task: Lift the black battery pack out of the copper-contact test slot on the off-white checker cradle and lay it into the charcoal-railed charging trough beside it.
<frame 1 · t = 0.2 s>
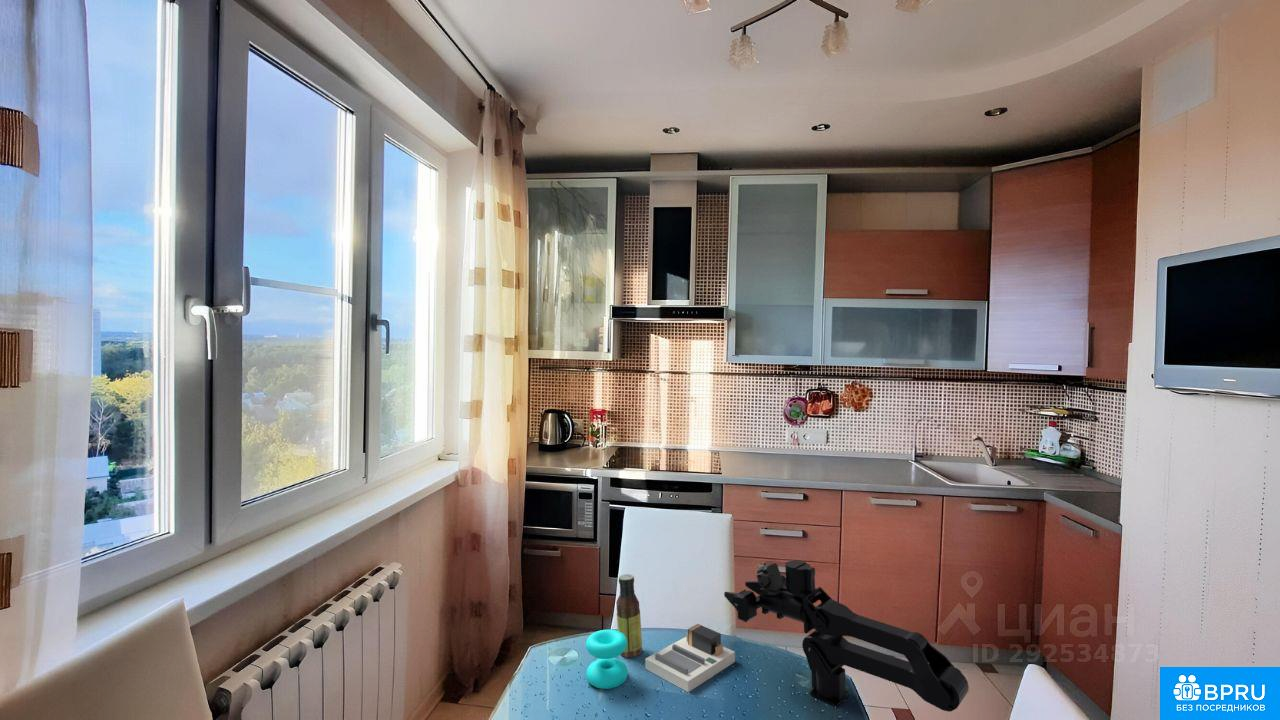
hand: (735, 588, 139), 17 cm above the table, tool horizontal, fingers open, 9 cm apart
sauce bottle: (629, 653, 141), on the table
battery: (704, 647, 138), point 3 cm above the table, touching cradle
cradle: (690, 665, 134), on the table
donuts: (607, 680, 129), on the table
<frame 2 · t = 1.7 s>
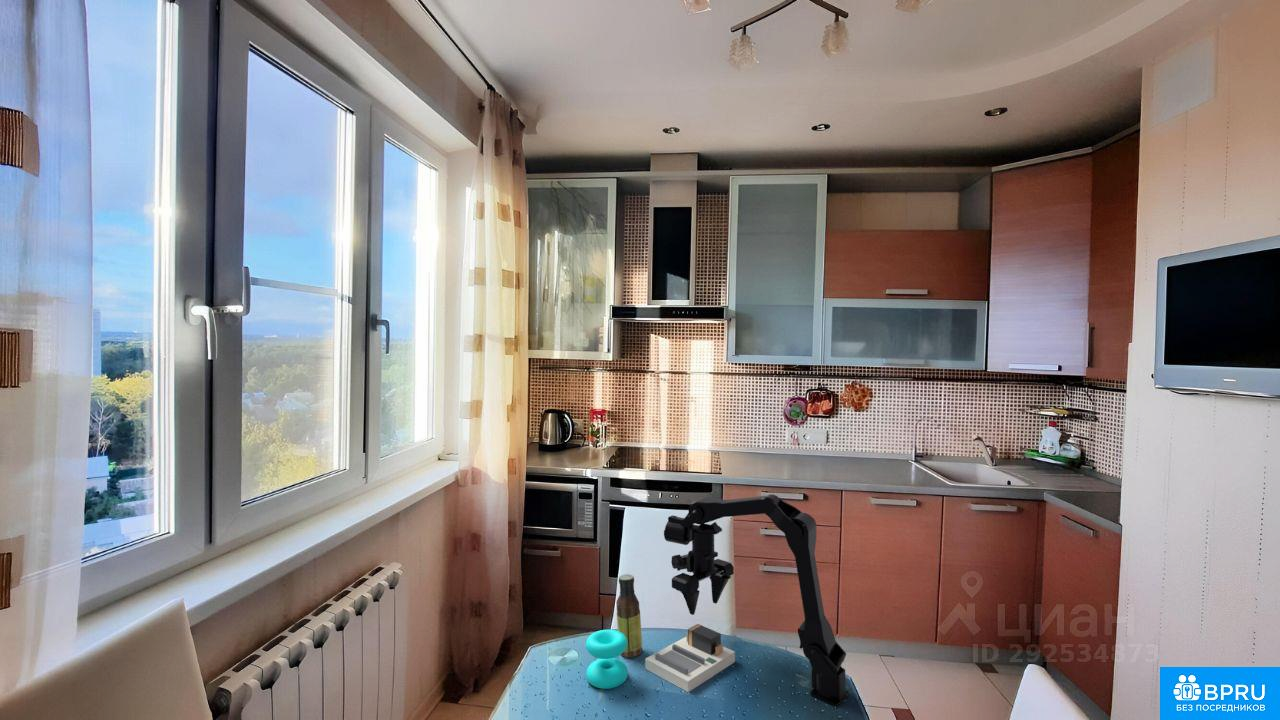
hand: (703, 608, 138), 12 cm above the table, tool pointing down, fingers open, 9 cm apart
nothing on the table moved.
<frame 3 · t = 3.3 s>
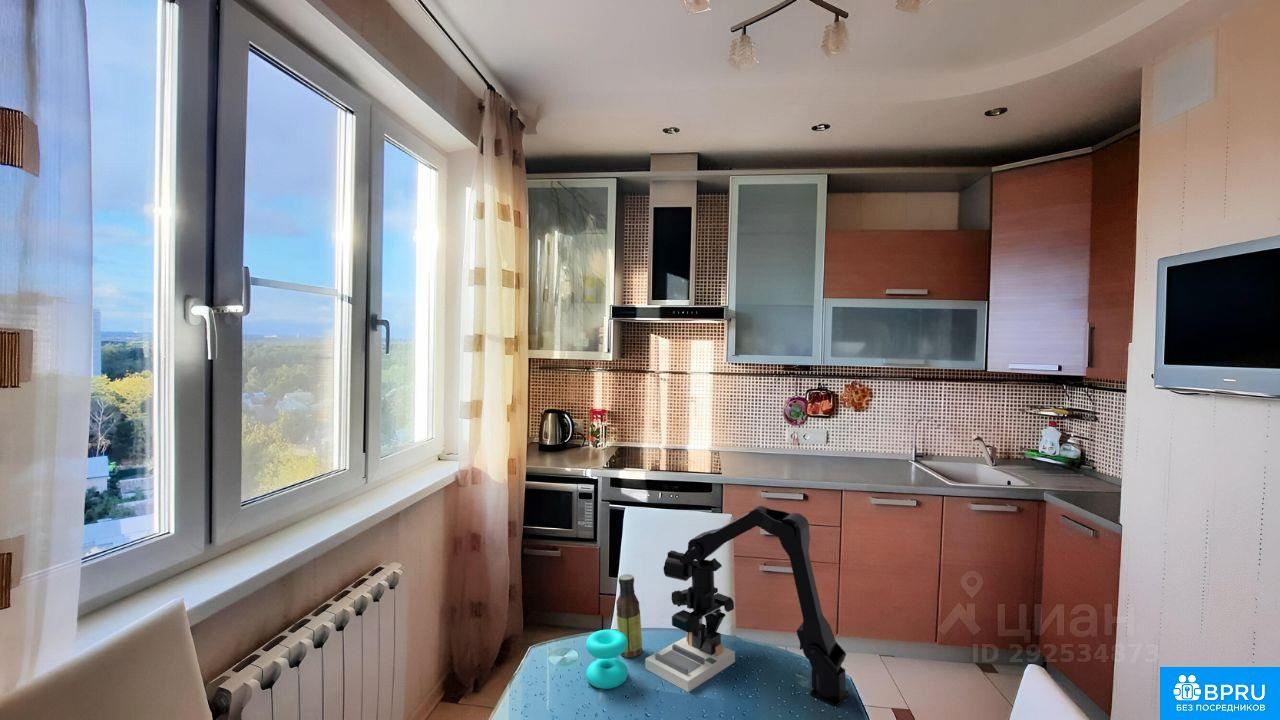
hand: (704, 645, 138), 3 cm above the table, tool pointing down, fingers closed on battery, 4 cm apart
battery: (704, 647, 138), point 3 cm above the table, touching cradle, gripper
everything else where it was.
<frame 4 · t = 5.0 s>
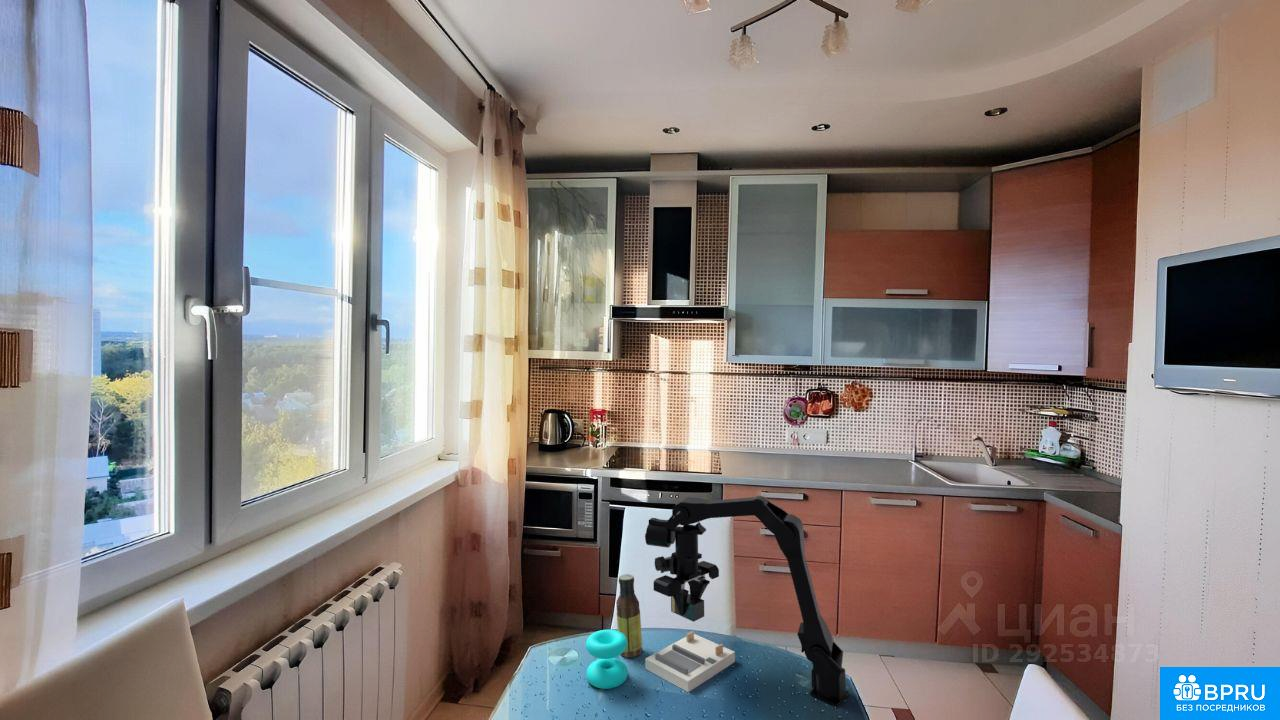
hand: (687, 612, 134), 13 cm above the table, tool pointing down, fingers closed on battery, 4 cm apart
battery: (687, 613, 134), point 13 cm above the table, touching gripper
everything else where it was.
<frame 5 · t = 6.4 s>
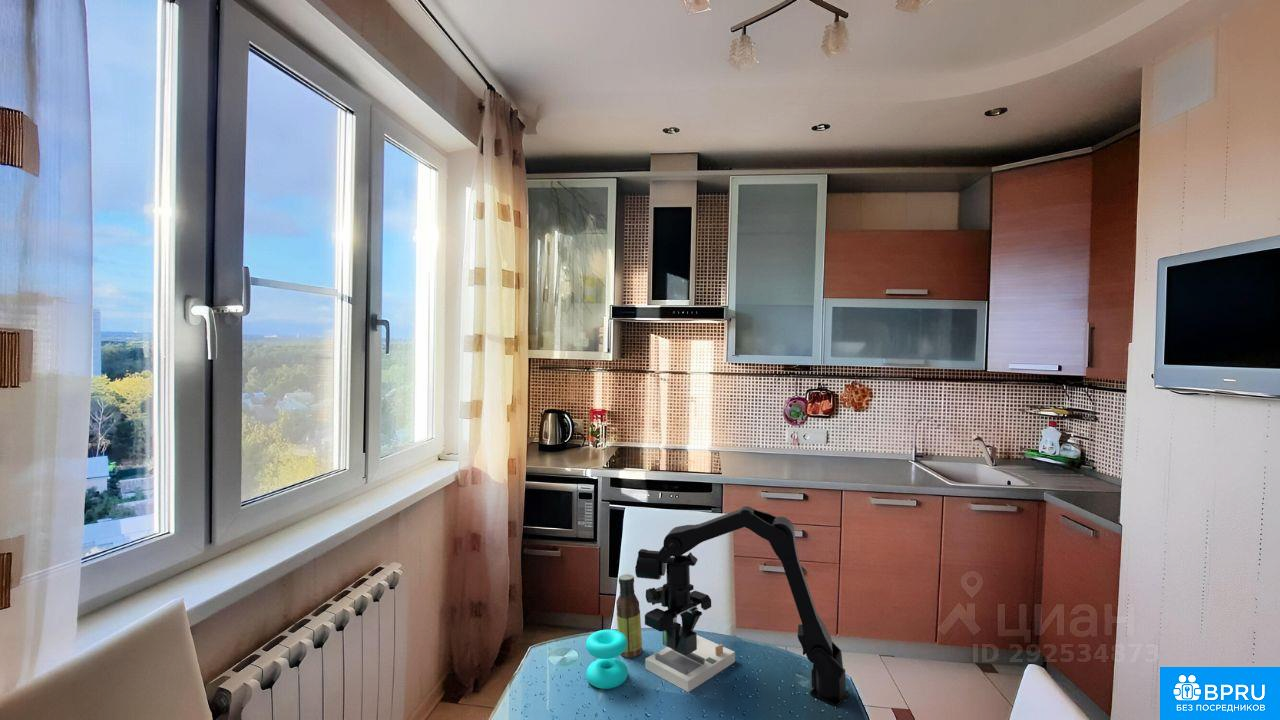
hand: (679, 644, 131), 6 cm above the table, tool pointing down, fingers closed on battery, 4 cm apart
battery: (679, 646, 131), point 6 cm above the table, touching gripper
everything else where it was.
when the fingers open (4 cm above the table, at t = 7.1 s): battery drops 1 cm, resting on cradle.
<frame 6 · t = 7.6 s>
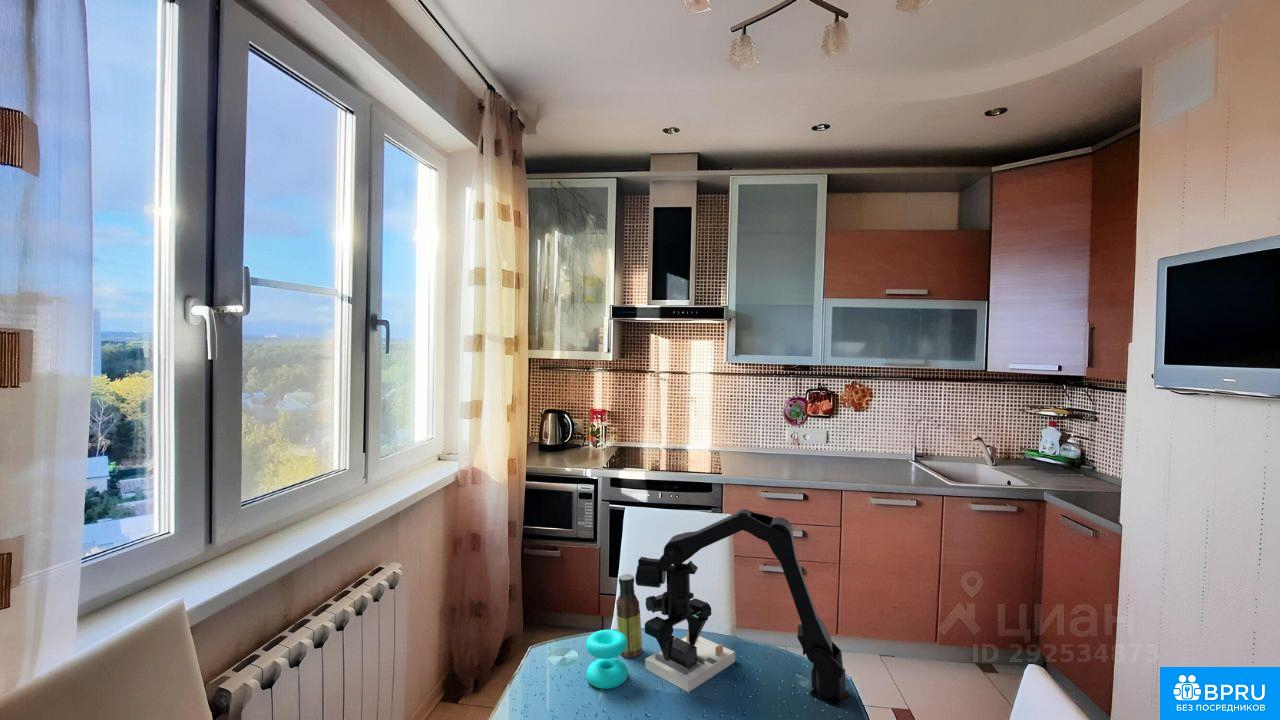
hand: (679, 653, 131), 4 cm above the table, tool pointing down, fingers open, 9 cm apart
battery: (679, 660, 131), point 3 cm above the table, touching cradle
everything else where it was.
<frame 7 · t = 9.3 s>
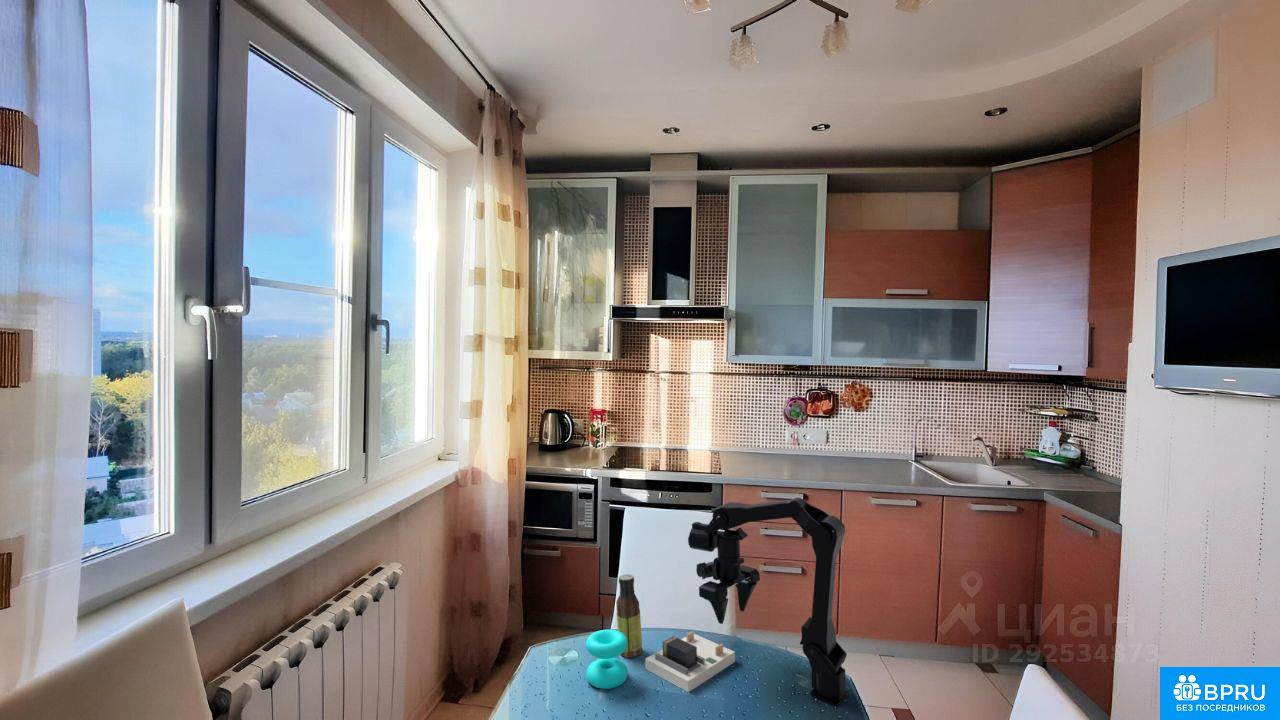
hand: (731, 617, 135), 12 cm above the table, tool pointing down, fingers open, 9 cm apart
nothing on the table moved.
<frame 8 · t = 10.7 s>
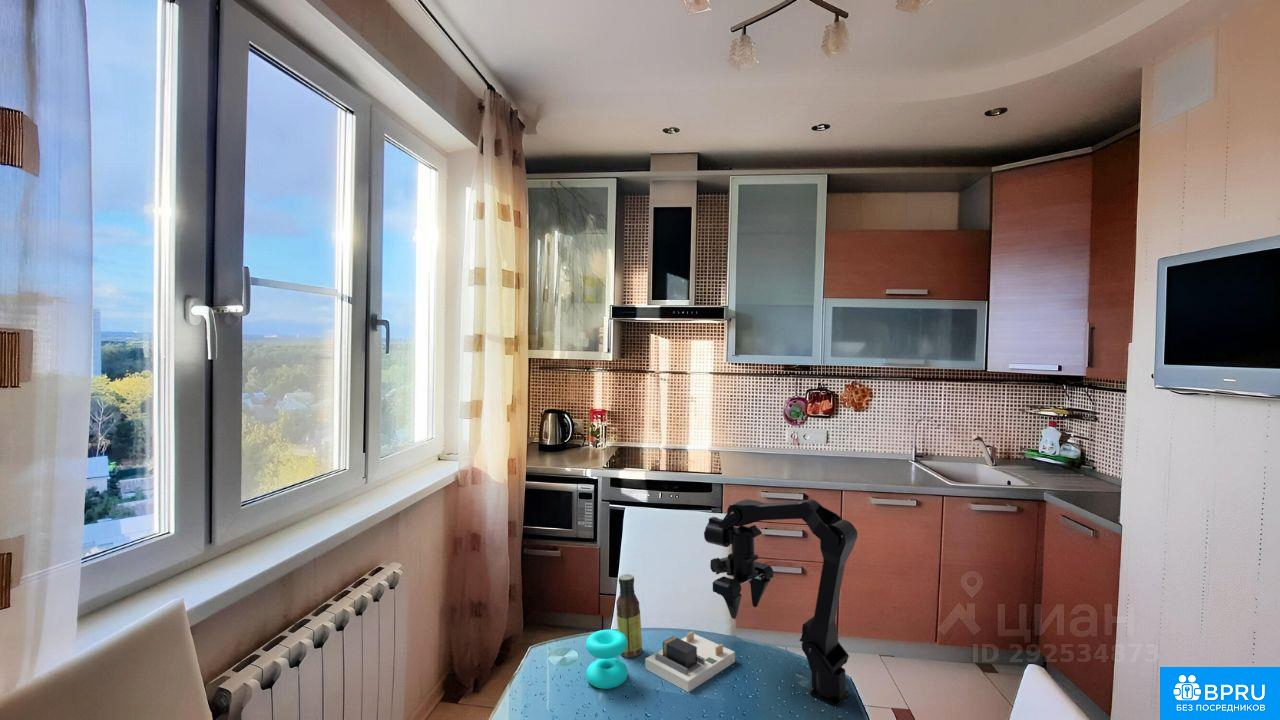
hand: (744, 612, 136), 12 cm above the table, tool pointing down, fingers open, 9 cm apart
nothing on the table moved.
at the end: battery 0.0 cm from the target spot on the cradle, point 2.6 cm above the cradle's base; battery tilted 0°; the gripper is holding nothing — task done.
